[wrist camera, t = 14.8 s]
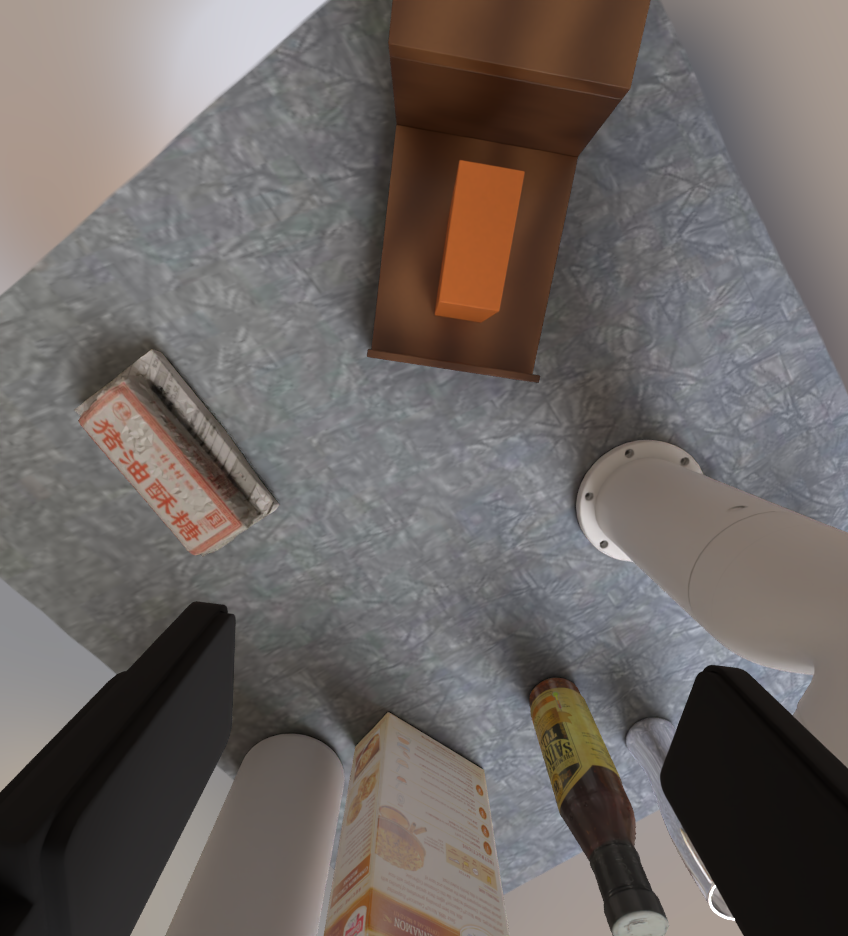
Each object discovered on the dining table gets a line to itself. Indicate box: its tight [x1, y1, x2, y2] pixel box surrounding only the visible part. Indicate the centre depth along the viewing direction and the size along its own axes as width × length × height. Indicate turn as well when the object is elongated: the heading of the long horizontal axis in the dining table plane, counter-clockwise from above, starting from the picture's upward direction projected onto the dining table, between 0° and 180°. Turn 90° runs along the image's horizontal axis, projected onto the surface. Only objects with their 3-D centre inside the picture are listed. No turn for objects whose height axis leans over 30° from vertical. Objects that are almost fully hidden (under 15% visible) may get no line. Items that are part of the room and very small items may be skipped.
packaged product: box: [74, 349, 279, 557], centre depth 38 cm, size 18×5×10 cm
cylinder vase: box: [165, 734, 344, 936], centre depth 38 cm, size 12×12×25 cm
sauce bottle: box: [530, 678, 668, 936], centre depth 38 cm, size 7×6×20 cm
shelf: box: [367, 0, 650, 383], centre depth 30 cm, size 14×22×11 cm, turn 172°
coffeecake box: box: [324, 712, 509, 936], centre depth 40 cm, size 15×7×20 cm, turn 52°
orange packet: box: [435, 160, 525, 323], centre depth 29 cm, size 4×8×8 cm, turn 171°
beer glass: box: [626, 717, 735, 920], centre depth 42 cm, size 7×7×15 cm
